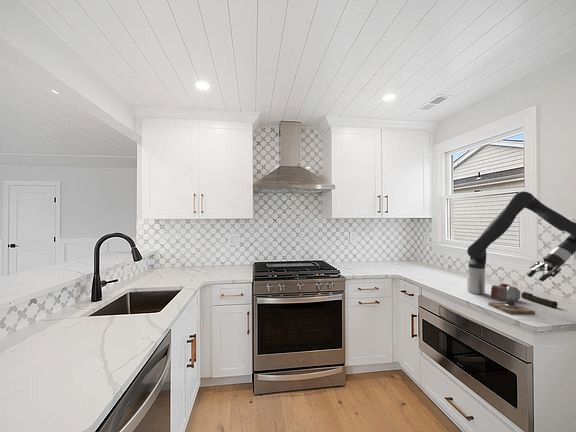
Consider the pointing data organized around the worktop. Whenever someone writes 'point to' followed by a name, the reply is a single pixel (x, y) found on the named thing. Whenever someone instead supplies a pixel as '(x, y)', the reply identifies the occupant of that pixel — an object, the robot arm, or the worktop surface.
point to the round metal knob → (510, 297)
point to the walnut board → (511, 310)
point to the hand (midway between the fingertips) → (534, 278)
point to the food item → (503, 292)
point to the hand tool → (539, 299)
